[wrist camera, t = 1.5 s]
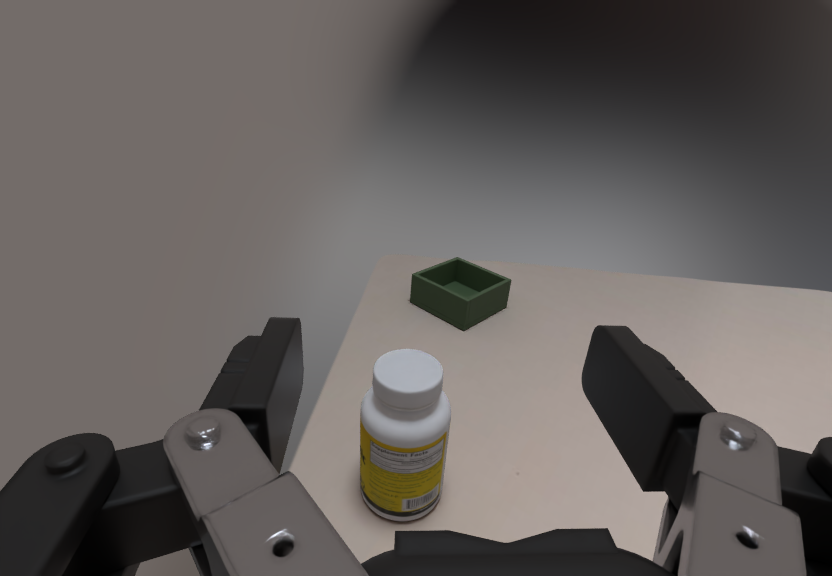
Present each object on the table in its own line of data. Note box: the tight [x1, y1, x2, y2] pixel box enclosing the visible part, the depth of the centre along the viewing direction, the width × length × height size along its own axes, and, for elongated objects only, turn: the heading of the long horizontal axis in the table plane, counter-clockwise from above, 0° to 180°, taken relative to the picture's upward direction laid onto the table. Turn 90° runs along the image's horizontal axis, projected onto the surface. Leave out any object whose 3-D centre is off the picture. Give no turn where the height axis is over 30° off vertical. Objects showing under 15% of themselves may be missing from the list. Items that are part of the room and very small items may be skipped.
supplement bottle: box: [360, 349, 451, 521], centre depth 28 cm, size 5×5×10 cm
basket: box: [410, 257, 511, 331], centre depth 52 cm, size 8×8×4 cm
